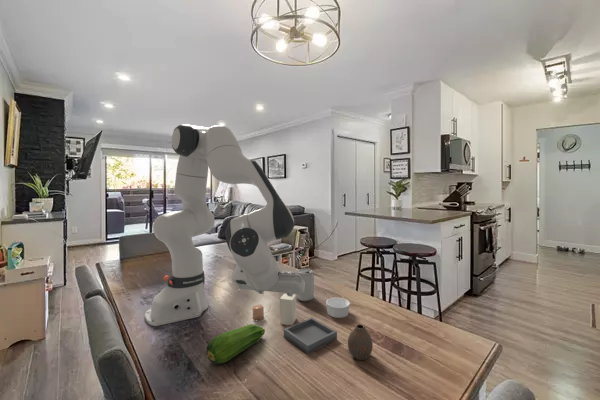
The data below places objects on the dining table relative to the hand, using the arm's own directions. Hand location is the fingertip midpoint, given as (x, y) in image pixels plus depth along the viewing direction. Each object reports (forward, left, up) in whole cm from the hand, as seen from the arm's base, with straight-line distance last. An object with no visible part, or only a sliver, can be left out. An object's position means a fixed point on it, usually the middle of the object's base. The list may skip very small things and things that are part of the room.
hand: (276, 292), depth 88 cm
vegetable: (-12, +3, -16) cm, 20 cm away
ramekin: (+28, 0, -16) cm, 32 cm away
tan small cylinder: (+3, +16, -15) cm, 23 cm away
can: (+27, +18, -15) cm, 36 cm away
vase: (+14, -22, -16) cm, 30 cm away
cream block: (+10, +7, -15) cm, 20 cm away
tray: (+9, -6, -15) cm, 18 cm away
